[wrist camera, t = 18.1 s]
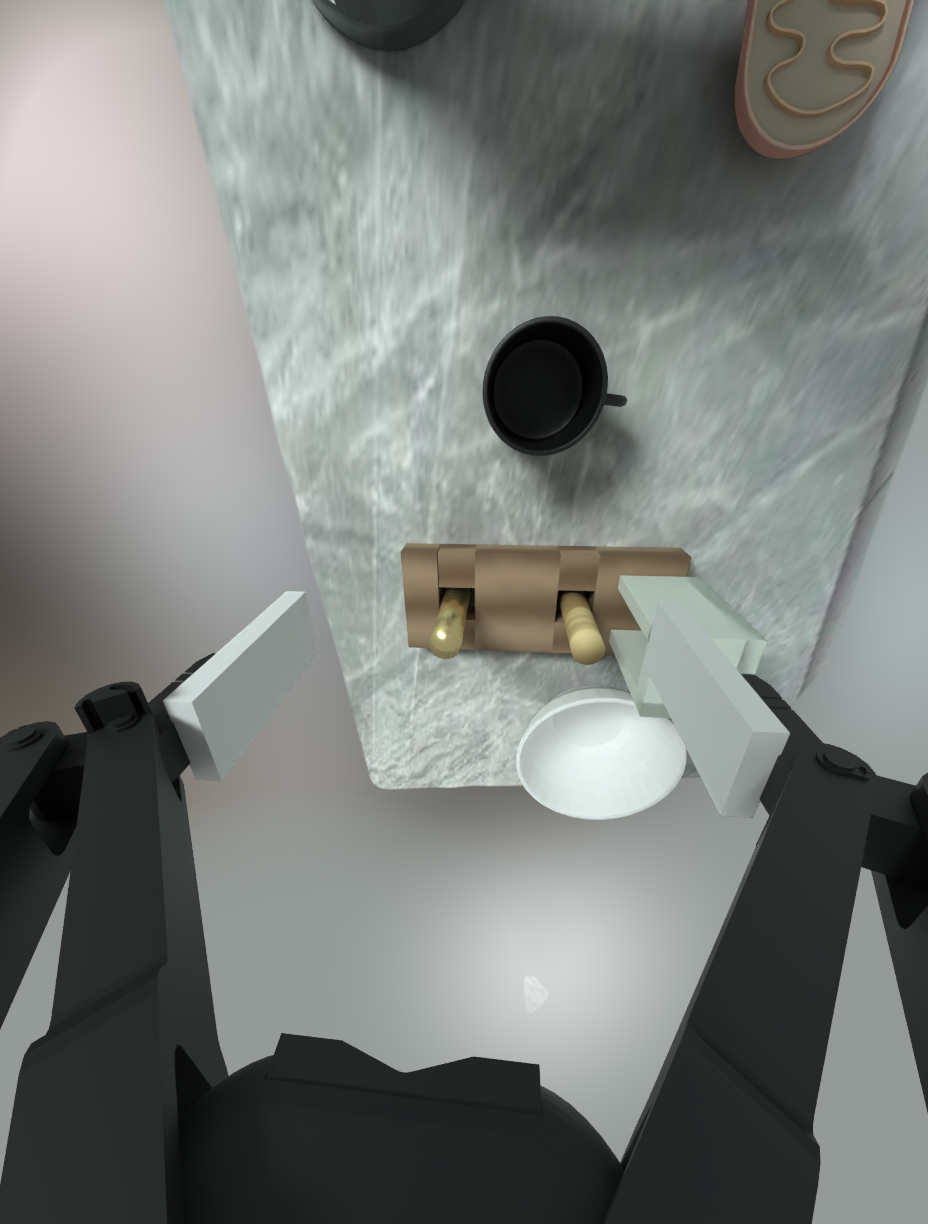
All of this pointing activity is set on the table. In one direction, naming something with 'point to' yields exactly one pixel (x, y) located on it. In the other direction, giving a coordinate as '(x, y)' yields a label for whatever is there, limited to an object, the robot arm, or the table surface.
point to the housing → (704, 607)
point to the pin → (450, 623)
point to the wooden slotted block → (531, 593)
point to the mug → (546, 386)
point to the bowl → (599, 755)
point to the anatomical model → (813, 69)
